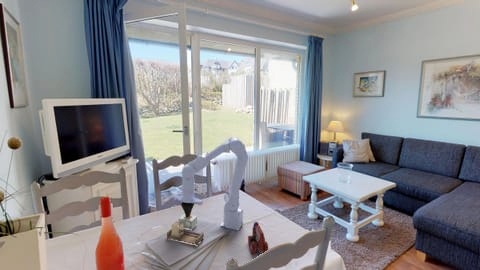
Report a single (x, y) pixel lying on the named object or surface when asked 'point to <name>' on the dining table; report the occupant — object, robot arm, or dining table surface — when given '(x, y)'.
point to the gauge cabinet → (188, 221)
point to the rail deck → (187, 237)
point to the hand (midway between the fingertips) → (188, 216)
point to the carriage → (177, 229)
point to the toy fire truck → (257, 239)
